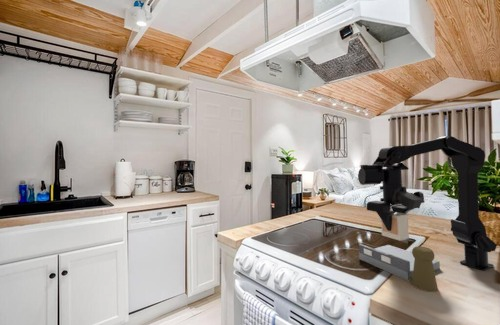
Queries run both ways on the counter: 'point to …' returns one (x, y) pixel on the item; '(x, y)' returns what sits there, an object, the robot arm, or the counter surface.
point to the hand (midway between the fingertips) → (394, 229)
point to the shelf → (391, 260)
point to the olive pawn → (424, 269)
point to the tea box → (397, 227)
